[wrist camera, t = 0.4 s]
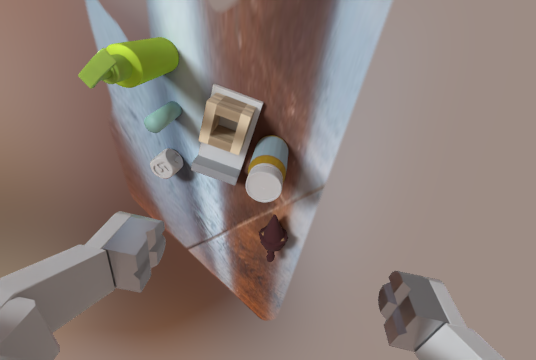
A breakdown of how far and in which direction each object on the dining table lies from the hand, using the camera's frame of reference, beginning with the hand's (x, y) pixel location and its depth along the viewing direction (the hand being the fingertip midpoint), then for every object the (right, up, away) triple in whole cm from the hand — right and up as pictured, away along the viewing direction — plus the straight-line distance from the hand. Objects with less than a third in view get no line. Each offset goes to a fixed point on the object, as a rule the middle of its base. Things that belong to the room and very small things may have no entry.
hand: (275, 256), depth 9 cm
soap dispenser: (-19, +26, +39) cm, 51 cm away
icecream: (+1, -10, +59) cm, 60 cm away
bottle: (+1, +10, +47) cm, 48 cm away
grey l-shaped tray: (-9, +13, +46) cm, 49 cm away
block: (-8, +15, +43) cm, 46 cm away
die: (-23, +8, +51) cm, 57 cm away
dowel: (-20, +17, +44) cm, 52 cm away
